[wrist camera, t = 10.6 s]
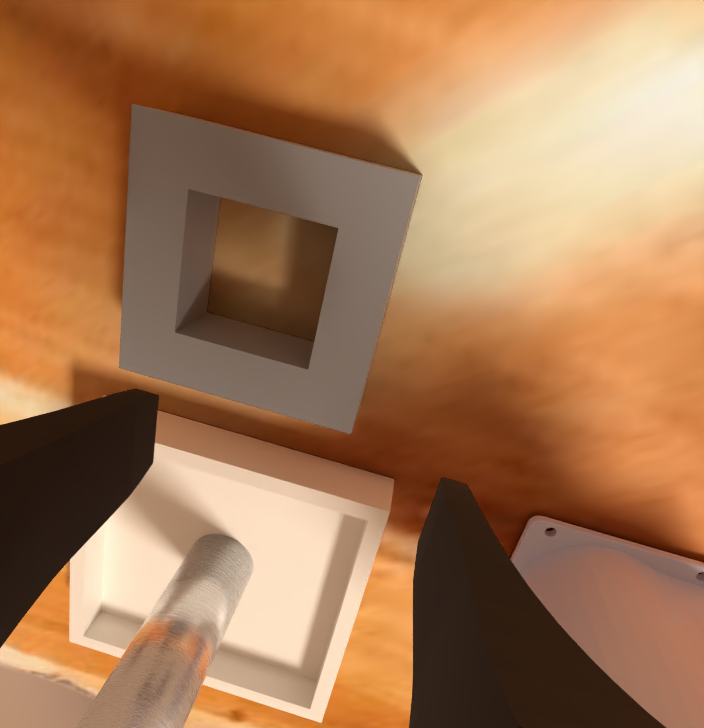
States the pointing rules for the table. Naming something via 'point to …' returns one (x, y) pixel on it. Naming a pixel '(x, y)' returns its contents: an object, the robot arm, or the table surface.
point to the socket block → (196, 252)
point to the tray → (262, 540)
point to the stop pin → (175, 641)
